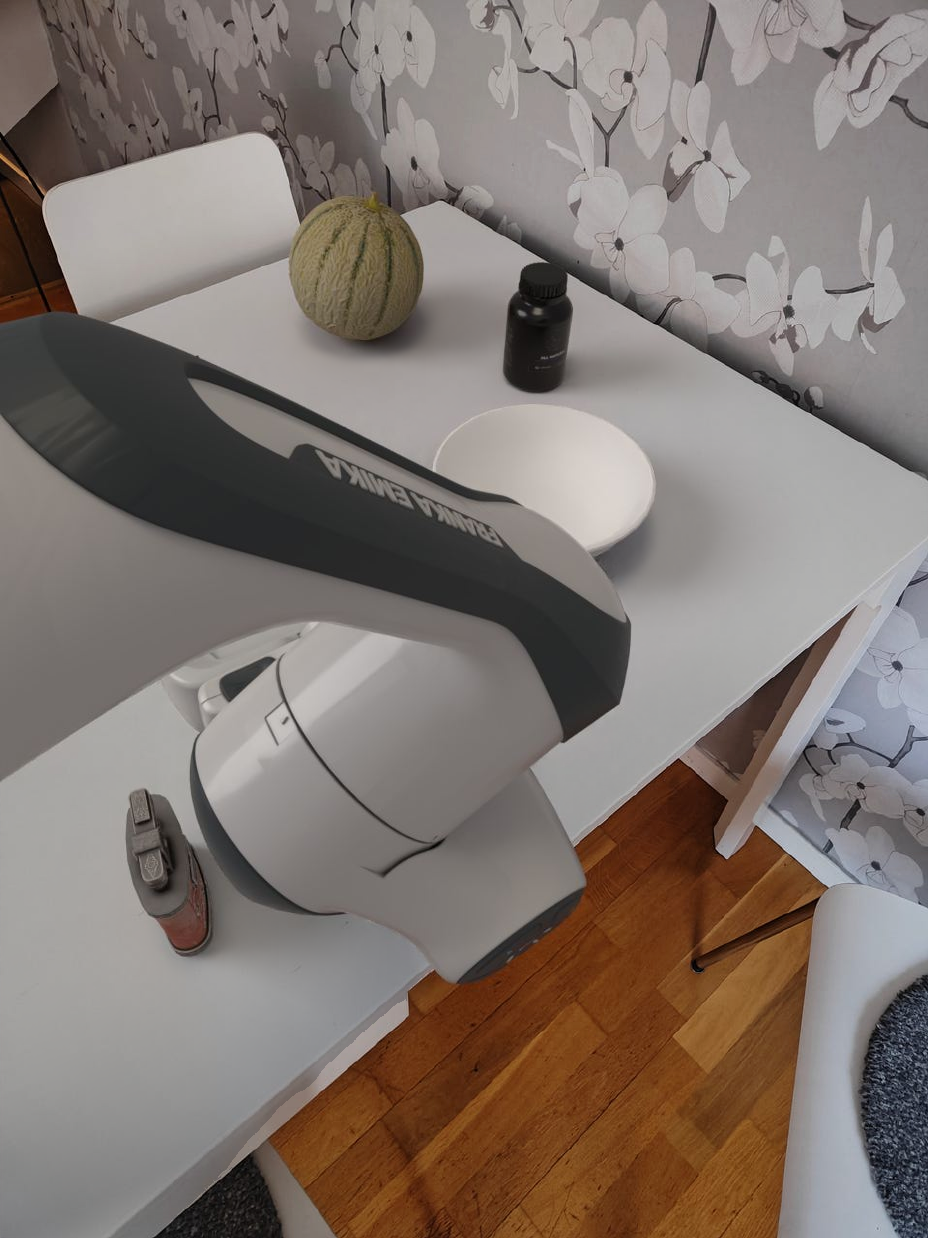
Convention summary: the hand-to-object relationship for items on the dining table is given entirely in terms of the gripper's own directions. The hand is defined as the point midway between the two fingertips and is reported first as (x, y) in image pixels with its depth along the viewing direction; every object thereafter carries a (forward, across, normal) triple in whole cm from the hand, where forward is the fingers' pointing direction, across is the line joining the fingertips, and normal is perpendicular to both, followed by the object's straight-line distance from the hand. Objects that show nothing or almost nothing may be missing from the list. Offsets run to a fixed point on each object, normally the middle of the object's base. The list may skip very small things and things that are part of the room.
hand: (277, 518), depth 54 cm
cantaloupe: (+45, -25, +20) cm, 55 cm away
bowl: (+8, -26, +20) cm, 34 cm away
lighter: (-11, +14, +20) cm, 27 cm away
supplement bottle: (+28, -38, +20) cm, 51 cm away
